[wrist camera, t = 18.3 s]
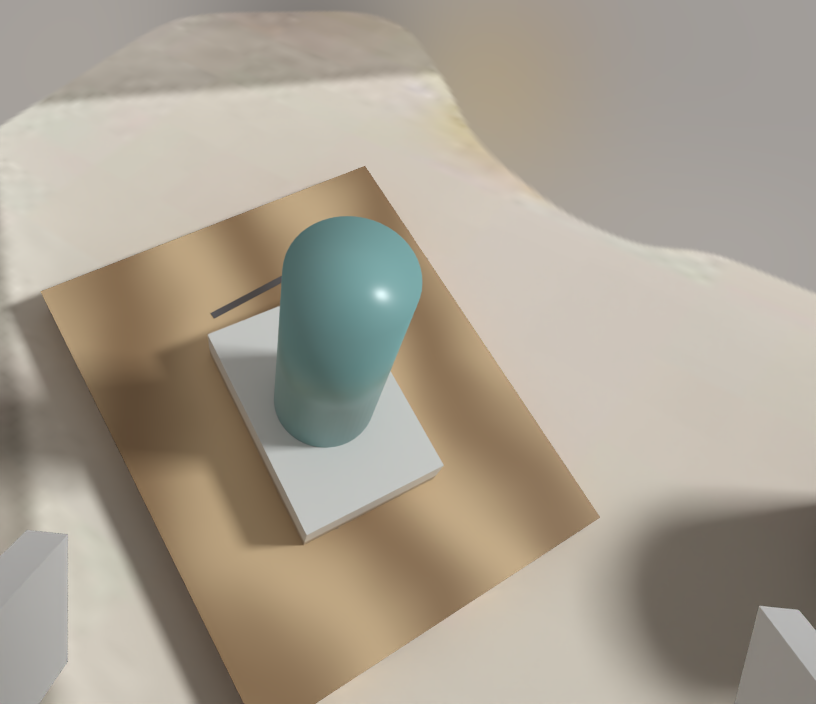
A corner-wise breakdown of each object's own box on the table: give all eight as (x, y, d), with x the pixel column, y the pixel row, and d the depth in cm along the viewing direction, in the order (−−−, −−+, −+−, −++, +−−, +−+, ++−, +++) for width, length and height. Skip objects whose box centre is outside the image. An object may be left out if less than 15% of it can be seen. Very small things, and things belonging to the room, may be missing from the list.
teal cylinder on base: (335, 303, 35) (371, 127, 25) (433, 478, 33) (521, 367, 22) (210, 354, 33) (189, 185, 22) (303, 545, 31) (330, 458, 20)
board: (361, 184, 40) (365, 165, 39) (586, 524, 35) (600, 517, 33) (48, 307, 34) (40, 291, 33) (260, 737, 29) (261, 738, 28)
